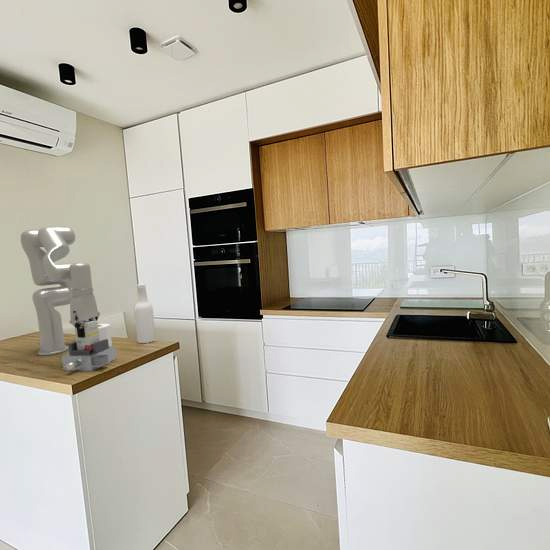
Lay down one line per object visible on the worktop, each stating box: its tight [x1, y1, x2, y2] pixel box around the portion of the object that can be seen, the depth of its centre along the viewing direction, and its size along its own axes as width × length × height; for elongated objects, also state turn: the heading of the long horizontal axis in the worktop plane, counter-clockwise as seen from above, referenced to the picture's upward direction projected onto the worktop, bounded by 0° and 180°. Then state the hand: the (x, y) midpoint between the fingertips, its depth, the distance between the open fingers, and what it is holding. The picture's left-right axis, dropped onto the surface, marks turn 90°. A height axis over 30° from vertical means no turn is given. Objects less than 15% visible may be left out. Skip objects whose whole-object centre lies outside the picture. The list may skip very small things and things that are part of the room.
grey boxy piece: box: [61, 339, 118, 372], centre depth 136 cm, size 18×18×10 cm
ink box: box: [74, 320, 100, 350], centre depth 137 cm, size 9×5×12 cm, turn 66°
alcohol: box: [134, 283, 157, 344], centre depth 168 cm, size 9×9×30 cm
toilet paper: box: [98, 323, 113, 346], centre depth 158 cm, size 10×10×12 cm
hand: (87, 334), depth 138 cm, fingers closed on ink box, 5 cm apart
